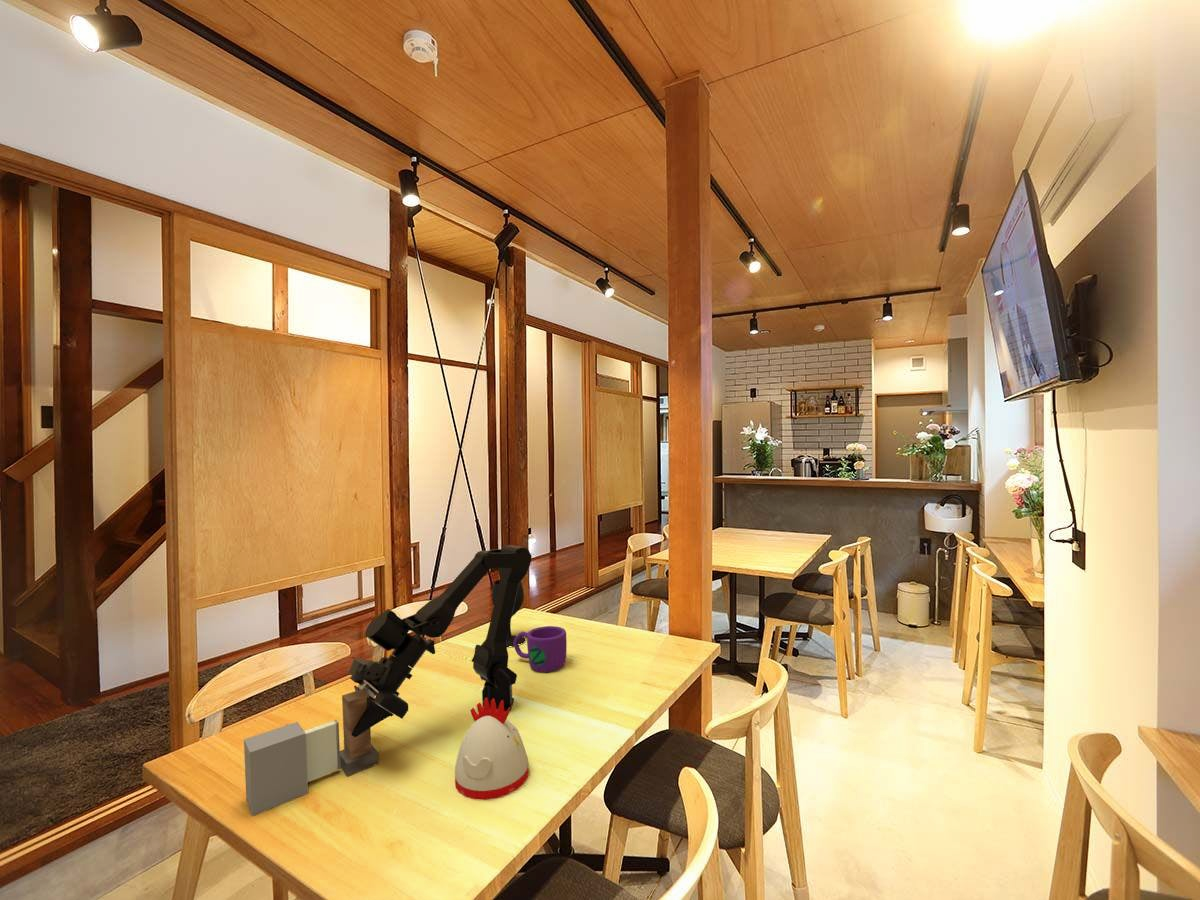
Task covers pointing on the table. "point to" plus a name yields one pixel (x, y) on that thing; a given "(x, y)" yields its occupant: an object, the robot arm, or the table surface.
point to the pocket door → (322, 750)
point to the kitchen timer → (490, 755)
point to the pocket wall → (275, 767)
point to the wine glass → (517, 606)
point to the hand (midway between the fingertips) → (349, 732)
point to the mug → (544, 648)
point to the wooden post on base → (357, 748)
